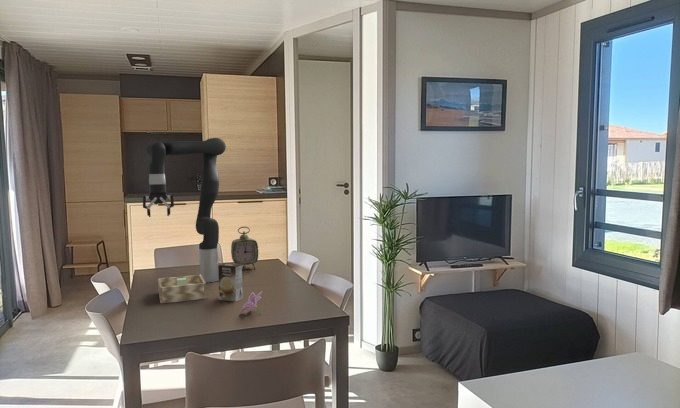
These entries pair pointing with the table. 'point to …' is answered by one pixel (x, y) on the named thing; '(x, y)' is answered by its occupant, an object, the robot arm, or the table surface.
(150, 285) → the table surface
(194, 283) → the box
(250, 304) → the lily
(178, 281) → the peg
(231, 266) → the coffee box
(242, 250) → the tabletop clock
